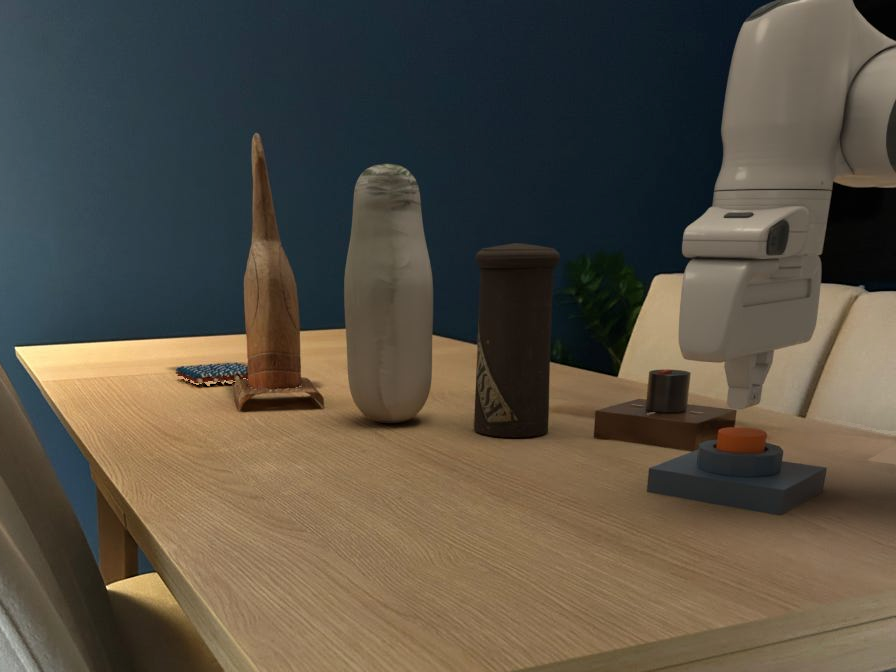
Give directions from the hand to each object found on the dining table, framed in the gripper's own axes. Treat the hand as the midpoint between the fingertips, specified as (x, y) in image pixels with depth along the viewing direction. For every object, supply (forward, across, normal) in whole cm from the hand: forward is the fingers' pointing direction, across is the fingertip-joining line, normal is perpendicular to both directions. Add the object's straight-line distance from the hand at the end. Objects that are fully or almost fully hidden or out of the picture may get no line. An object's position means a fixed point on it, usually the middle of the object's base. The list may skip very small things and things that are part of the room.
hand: (742, 406), depth 83 cm
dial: (+4, -18, -16) cm, 24 cm away
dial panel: (+8, -18, -16) cm, 25 cm away
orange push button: (+4, 0, 0) cm, 4 cm away
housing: (+7, 0, 0) cm, 7 cm away
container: (+8, -10, -31) cm, 33 cm away
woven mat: (+8, -14, -88) cm, 89 cm away
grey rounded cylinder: (+8, -6, -46) cm, 47 cm away
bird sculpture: (+8, -6, -66) cm, 66 cm away
